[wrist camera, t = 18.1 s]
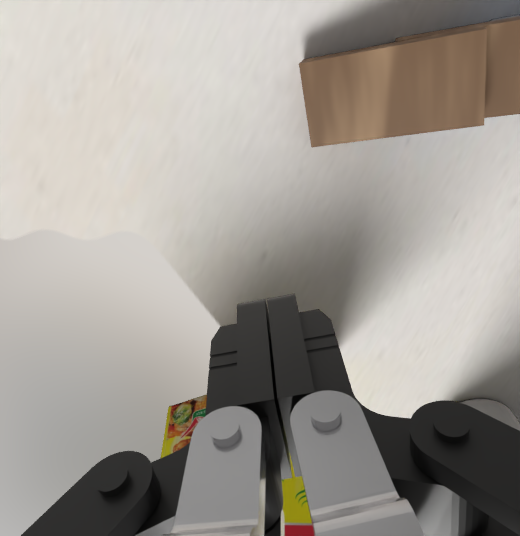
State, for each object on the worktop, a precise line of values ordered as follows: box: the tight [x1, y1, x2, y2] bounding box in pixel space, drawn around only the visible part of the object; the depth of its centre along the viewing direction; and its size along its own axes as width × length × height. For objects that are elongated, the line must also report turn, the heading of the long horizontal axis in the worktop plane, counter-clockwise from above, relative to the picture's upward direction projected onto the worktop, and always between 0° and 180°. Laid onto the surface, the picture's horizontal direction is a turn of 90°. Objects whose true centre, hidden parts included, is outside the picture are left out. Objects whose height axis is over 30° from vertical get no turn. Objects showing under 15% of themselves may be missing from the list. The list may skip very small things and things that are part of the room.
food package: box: [161, 395, 315, 536], centre depth 32 cm, size 15×1×20 cm, turn 110°
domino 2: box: [395, 16, 520, 118], centre depth 27 cm, size 2×5×10 cm
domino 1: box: [299, 26, 487, 147], centre depth 28 cm, size 2×5×10 cm
